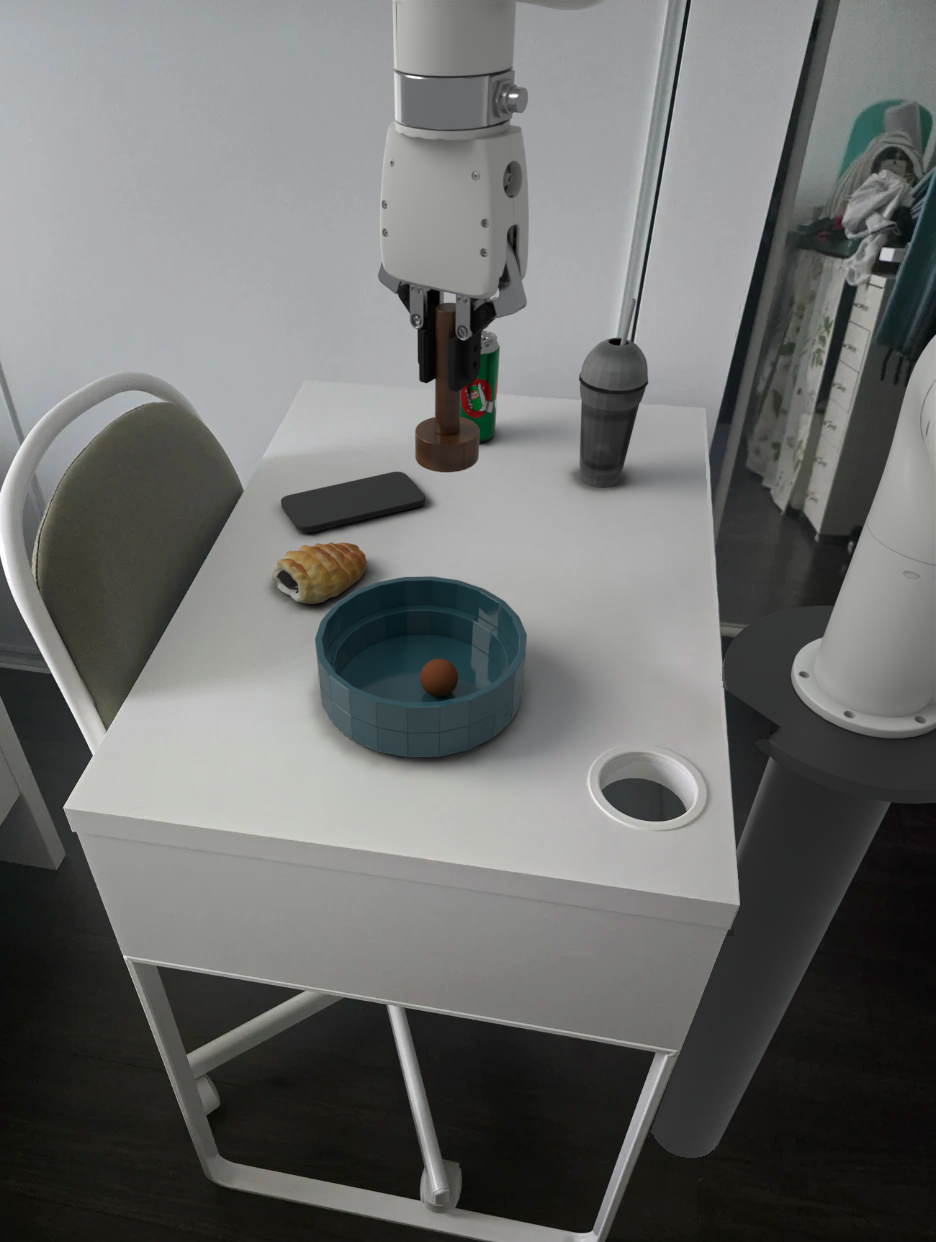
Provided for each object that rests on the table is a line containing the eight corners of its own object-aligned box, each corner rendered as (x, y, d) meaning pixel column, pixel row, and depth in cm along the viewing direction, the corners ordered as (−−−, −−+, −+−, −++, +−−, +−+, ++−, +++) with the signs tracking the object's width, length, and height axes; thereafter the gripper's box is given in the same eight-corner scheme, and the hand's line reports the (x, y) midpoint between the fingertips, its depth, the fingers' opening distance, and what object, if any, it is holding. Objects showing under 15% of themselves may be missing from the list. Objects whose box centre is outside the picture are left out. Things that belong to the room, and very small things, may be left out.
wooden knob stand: (480, 443, 79) (486, 295, 71) (476, 473, 75) (482, 321, 67) (418, 441, 80) (417, 294, 71) (412, 471, 76) (410, 319, 68)
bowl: (524, 636, 86) (529, 582, 82) (516, 772, 74) (522, 716, 70) (340, 623, 88) (336, 570, 84) (302, 754, 76) (295, 698, 72)
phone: (429, 499, 103) (299, 529, 99) (429, 505, 104) (300, 536, 99) (402, 469, 108) (277, 496, 104) (402, 476, 109) (278, 503, 104)
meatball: (413, 671, 81) (441, 694, 81) (411, 687, 78) (440, 710, 79) (437, 645, 79) (466, 668, 80) (436, 660, 77) (466, 684, 77)
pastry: (341, 549, 98) (339, 517, 95) (383, 577, 94) (382, 545, 91) (267, 584, 93) (262, 552, 91) (307, 615, 89) (304, 582, 87)
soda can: (470, 422, 118) (474, 325, 110) (503, 433, 116) (509, 335, 108) (445, 436, 116) (447, 338, 107) (478, 449, 113) (482, 349, 105)
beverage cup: (600, 455, 111) (625, 278, 97) (645, 480, 107) (678, 298, 93) (554, 474, 108) (572, 293, 95) (598, 500, 104) (624, 314, 90)
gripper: (591, 103, 59) (562, 387, 72) (388, 80, 66) (395, 343, 79) (530, 126, 55) (510, 425, 67) (320, 99, 62) (338, 374, 74)
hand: (448, 379), depth 73 cm, fingers closed on wooden knob stand
